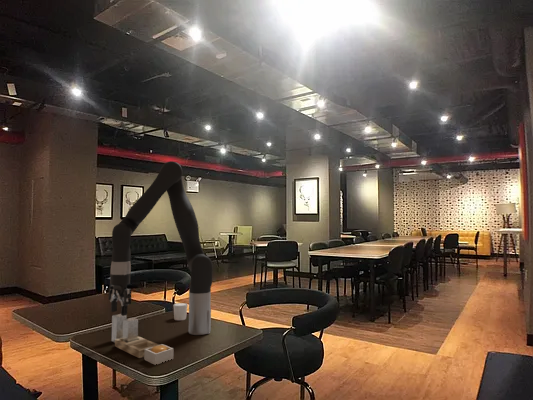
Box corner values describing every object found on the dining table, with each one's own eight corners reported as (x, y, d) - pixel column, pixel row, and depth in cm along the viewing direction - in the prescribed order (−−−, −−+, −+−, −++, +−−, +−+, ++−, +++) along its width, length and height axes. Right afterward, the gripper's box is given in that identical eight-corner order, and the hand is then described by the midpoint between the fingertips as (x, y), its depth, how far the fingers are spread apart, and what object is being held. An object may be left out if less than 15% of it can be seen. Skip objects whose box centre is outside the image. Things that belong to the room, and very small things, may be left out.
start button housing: (144, 359, 121) (144, 349, 121) (162, 353, 127) (162, 344, 127) (155, 365, 117) (155, 354, 117) (173, 358, 122) (173, 348, 122)
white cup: (188, 316, 176) (188, 302, 177) (185, 320, 170) (186, 305, 170) (174, 316, 176) (175, 302, 177) (171, 320, 169) (171, 306, 170)
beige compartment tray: (114, 346, 134) (115, 339, 134) (134, 341, 140) (134, 334, 140) (139, 358, 123) (139, 350, 123) (159, 351, 129) (159, 344, 129)
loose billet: (111, 341, 140) (112, 315, 141) (121, 338, 143) (121, 313, 144) (116, 343, 138) (116, 317, 138) (126, 340, 141) (126, 315, 141)
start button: (148, 355, 121) (148, 348, 122) (161, 351, 125) (161, 344, 125) (156, 358, 118) (156, 351, 118) (169, 354, 122) (169, 347, 122)
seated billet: (122, 346, 134) (123, 319, 135) (132, 343, 138) (132, 317, 138) (127, 348, 132) (128, 321, 133) (137, 345, 135) (138, 319, 136)
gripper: (103, 271, 144) (101, 312, 143) (120, 275, 135) (118, 318, 134) (121, 270, 150) (119, 308, 149) (138, 273, 140) (136, 314, 139)
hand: (118, 313), depth 141 cm, fingers open, 8 cm apart
